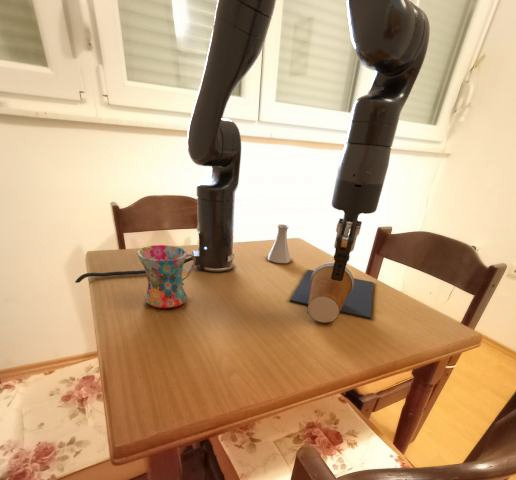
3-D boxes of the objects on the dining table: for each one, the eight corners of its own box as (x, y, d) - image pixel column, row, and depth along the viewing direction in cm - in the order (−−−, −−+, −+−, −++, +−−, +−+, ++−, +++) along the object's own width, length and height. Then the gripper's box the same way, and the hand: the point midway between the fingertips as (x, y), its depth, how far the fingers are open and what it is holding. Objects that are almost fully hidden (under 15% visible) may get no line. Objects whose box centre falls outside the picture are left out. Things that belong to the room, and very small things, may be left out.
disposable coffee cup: (349, 329, 63) (355, 297, 71) (346, 288, 57) (353, 258, 65) (303, 328, 67) (314, 297, 75) (296, 290, 61) (309, 261, 69)
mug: (157, 316, 61) (151, 263, 55) (135, 298, 66) (128, 248, 60) (208, 301, 68) (207, 253, 62) (185, 286, 73) (182, 240, 67)
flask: (292, 258, 97) (297, 224, 92) (288, 265, 91) (293, 230, 86) (269, 254, 98) (273, 221, 93) (264, 261, 92) (268, 226, 87)
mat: (370, 319, 67) (370, 317, 67) (290, 301, 71) (290, 299, 71) (372, 283, 85) (373, 282, 85) (308, 270, 89) (308, 269, 89)
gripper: (340, 173, 56) (322, 265, 66) (332, 178, 46) (311, 288, 55) (383, 177, 55) (358, 272, 65) (385, 185, 44) (354, 296, 54)
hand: (336, 279), depth 60 cm, fingers closed
